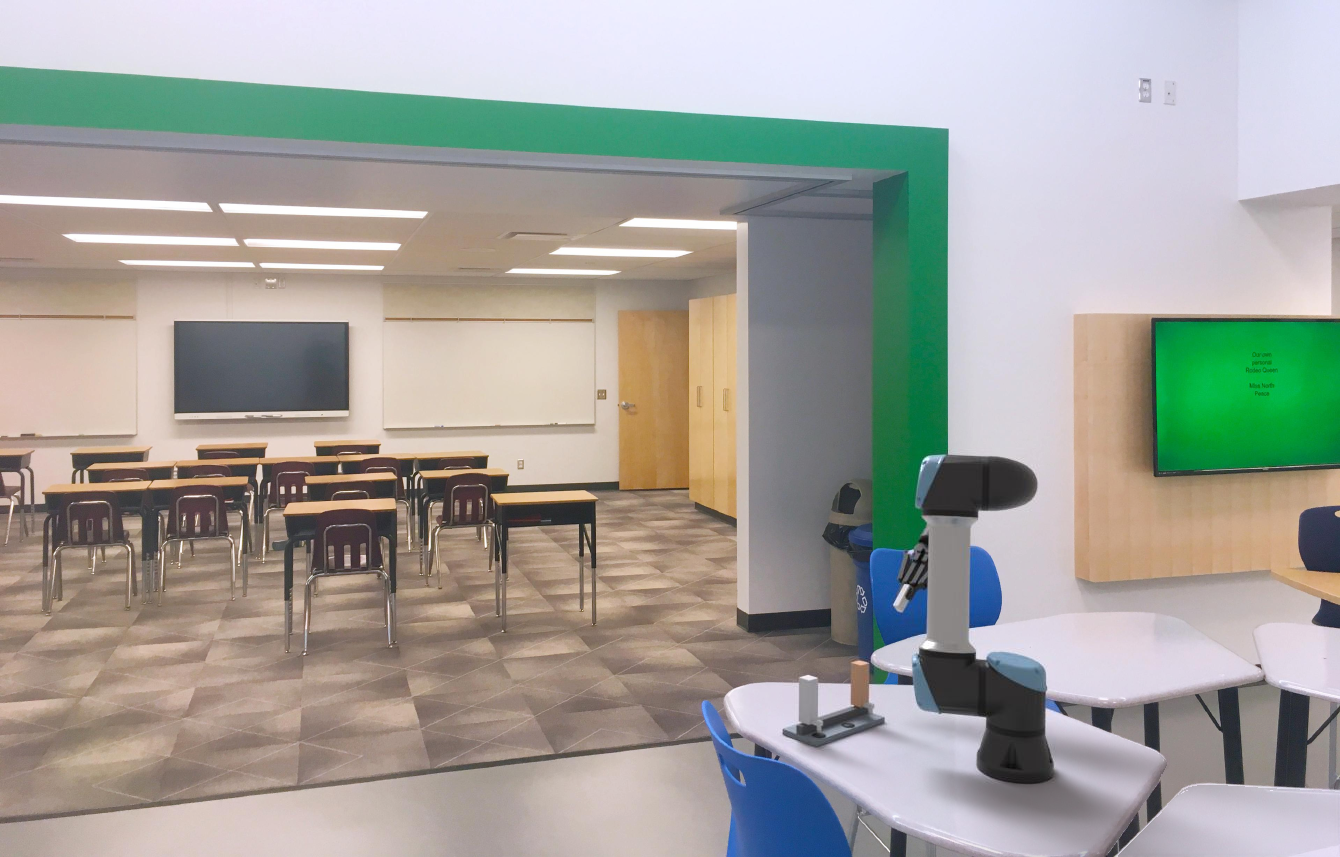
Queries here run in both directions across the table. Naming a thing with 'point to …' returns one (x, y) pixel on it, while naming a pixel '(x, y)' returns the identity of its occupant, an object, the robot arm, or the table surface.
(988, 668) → the robot arm
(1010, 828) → the table surface
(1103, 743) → the table surface
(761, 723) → the table surface
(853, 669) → the post
